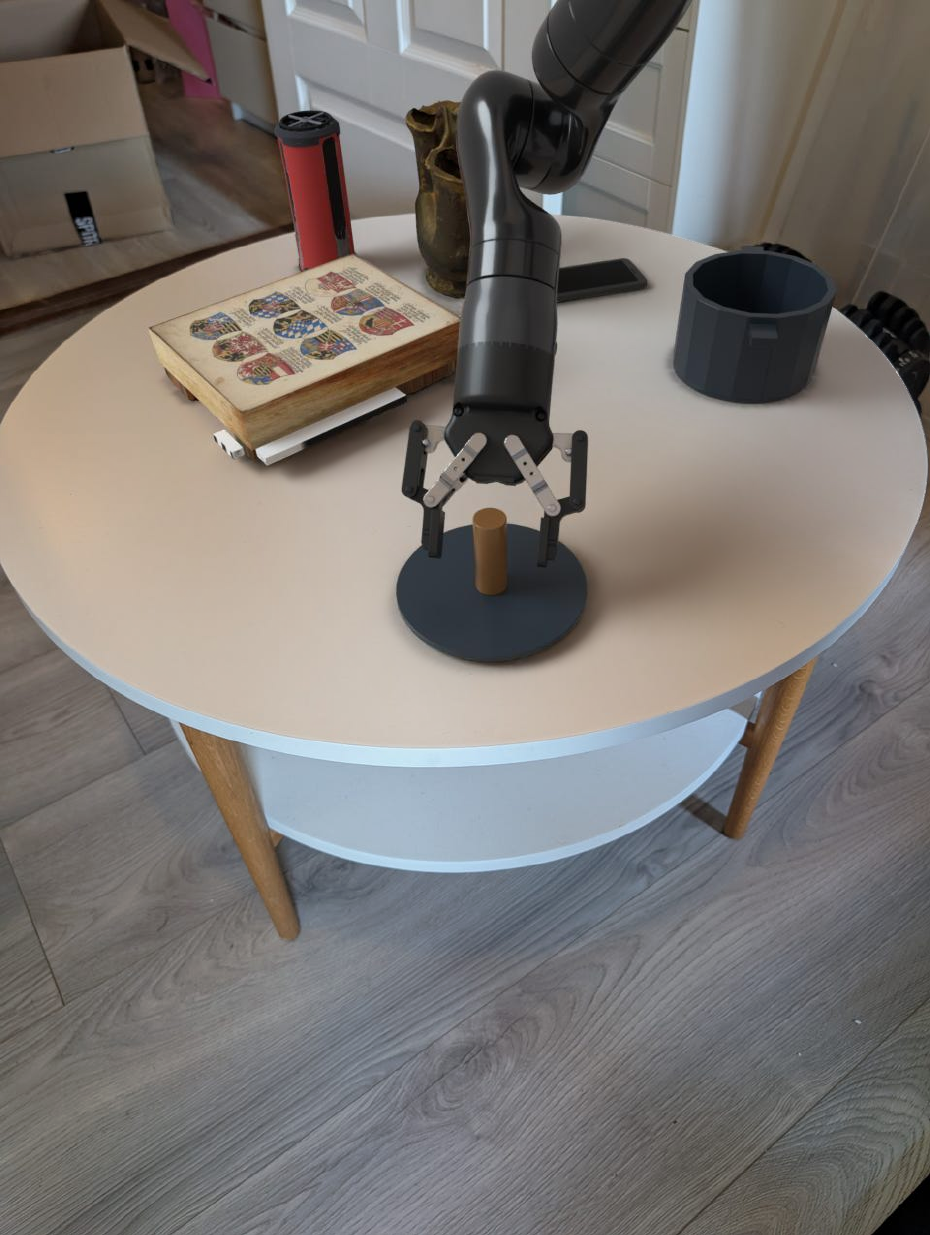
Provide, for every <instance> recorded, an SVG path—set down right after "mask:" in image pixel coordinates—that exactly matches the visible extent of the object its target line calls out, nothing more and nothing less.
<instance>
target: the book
mask: <svg viewBox="0 0 930 1235" xmlns="http://www.w3.org/2000/svg"><path fill="white" fill-rule="evenodd" d="M460 319H461V315H458V314H456V313H454V311H452V310H450V309H448V308H446V307H444V306H443V305H441V304H440V303H438V302H436V301H435V300H433V299H431V298H429V297H427V296H426V295H425V294H423V293H421V292H420V291H418V290H416V289H414V288H413V287H411V286H409V285H408V284H406V283H404V282H403V281H401V280H399V279H397V278H396V277H394V276H393V275H391V274H389V273H387V272H386V271H384V270H383V269H381V268H379V267H378V266H376V265H374V264H372V263H371V262H369V261H368V260H366V259H364V258H362V257H361V256H359V255H358V254H357V253H356V254H354V253H352V254H350V255H347V256H344V257H341V258H339V259H336V260H333V261H330V262H328V263H325V264H322V265H319V266H317V267H314V268H311V269H308V270H306V271H303V272H301V271H300V272H298V273H295V274H293V275H289V276H287V277H284V278H281V279H278V280H275V281H273V282H270V283H268V284H265V285H261V286H259V287H256V288H254V289H251V290H248V291H246V292H242V293H240V294H237V295H235V296H231V297H229V298H226V299H224V300H220V301H217V302H215V303H213V304H210V305H206V306H204V307H201V308H198V309H195V310H193V311H191V312H187V313H186V314H182V315H179V316H176V317H174V318H171V319H167V320H166V321H163V322H160V323H157V324H154V325H152V326H149V327H148V328H147V330H148V332H149V334H150V338H151V341H152V343H153V346H154V349H155V352H156V356H157V357H158V361H159V364H160V365H162V366H163V369H164V372H165V375H166V376H167V377H168V379H169V380H170V381H171V383H172V384H173V385H174V386H175V387H176V388H177V389H178V390H179V391H180V392H181V393H182V394H183V396H184V397H185V398H186V399H187V400H189V401H195V399H197V400H198V402H200V403H201V404H202V405H203V406H204V407H205V408H206V409H207V410H209V411H210V412H211V413H212V414H213V415H214V416H215V418H217V419H218V421H220V422H221V423H222V424H223V425H224V426H225V427H226V428H227V429H228V430H229V431H231V432H232V433H233V435H234V437H233V436H232V435H231V434H229V432H228V431H227V430H225V429H222V430H219V431H217V432H214V433H213V434H212V436H213V439H214V442H215V443H216V444H217V445H218V446H219V447H220V448H221V449H223V450H224V452H225V453H226V454H228V455H229V456H230V457H231V459H233V460H236V459H238V458H240V457H244V456H245V455H246V456H247V457H249V459H251V460H252V461H257V460H261V462H262V463H264V464H265V465H266V466H269V465H272V464H274V463H276V462H279V461H282V460H284V459H285V458H287V457H289V456H292V455H294V454H297V453H298V452H300V451H303V450H305V449H308V448H309V447H311V446H314V445H316V444H318V443H320V442H322V441H325V440H327V439H329V438H331V437H334V436H336V435H338V434H340V433H342V432H345V431H347V430H349V429H351V428H353V427H356V426H358V425H361V424H362V423H365V422H366V421H369V420H371V419H373V418H375V417H377V416H380V415H382V414H384V413H386V412H389V411H391V410H393V409H395V408H397V407H399V406H402V405H404V404H407V403H408V399H407V398H408V397H407V394H412V393H415V392H418V391H420V390H421V389H423V388H425V387H428V386H430V385H432V384H434V383H437V382H438V380H441V379H442V378H445V377H450V376H451V375H452V374H453V373H454V371H456V364H457V352H458V340H459V328H460Z"/></svg>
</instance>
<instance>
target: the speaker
mask: <svg viewBox="0 0 930 1235" xmlns="http://www.w3.org/2000/svg"><path fill="white" fill-rule="evenodd" d="M273 131H274V135H275V137H276V138H277V142H278V148H279V153H280V160H281V165H282V167H283V172H284V178H285V184H286V190H287V195H288V201H289V206H290V211H291V217H292V222H293V223H292V224H293V228H294V237H295V243H296V248H297V254H298V269H299V271H300V272H303V271H306V270H308V269H311V268H314V267H317V266H319V265H322V264H325V263H328V262H330V261H333V260H336V259H339V258H341V257H344V256H347V255H350V254H352V253H354V254H356V255H357V252H356V251H355V242H354V236H353V235H354V234H353V228H352V222H351V213H350V212H351V211H350V206H349V199H348V198H349V197H348V190H347V183H346V175H345V174H346V173H345V168H344V159H343V154H342V145H341V136H340V135H341V126H340V122H339V121H338V120H337V119H336V118H334V117H333V115H332V114H331V113H329V112H327V111H323V110H300V111H294V112H291V113H289V114H285V115H284V116H282V117H281V118H280V119H279V121H278V123H277V124H276V125H275V127H274V128H273Z"/></svg>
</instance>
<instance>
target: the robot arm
mask: <svg viewBox="0 0 930 1235" xmlns="http://www.w3.org/2000/svg"><path fill="white" fill-rule="evenodd" d="M692 2H693V0H556V1H555V3H554V4H553V5H552V7H551V9H550V11H549V12H548V13H547V15H546V16H545V17H544V19H543V21H542V23H541V24H540V26H539V28H538V30H537V32H536V34H535V36H534V39H533V42H532V46H531V65H532V69H533V73H534V75H535V78H536V80H537V82H536V81H533V80H530V79H527V78H525V77H523V76H520V75H519V74H515V73H512V72H509V71H506V70H501V69H500V70H499V69H493V70H488V71H485V72H483V73H481V74H480V75H478V76H477V77H475V79H474V80H473V81H472V82H471V83H470V85H469V86H468V87H467V89H466V90H465V92H464V94H463V96H462V99H461V101H460V102H461V104H460V107H459V110H458V116H457V123H456V148H457V155H458V163H459V168H460V173H461V178H462V183H463V188H464V194H465V200H466V208H467V215H468V221H469V229H470V249H469V261H468V273H467V285H466V292H465V293H464V294H465V295H464V300H463V304H462V307H461V308H462V309H461V313H460V317H461V319H460V328H459V340H458V352H457V364H456V369H455V376H454V387H453V400H452V411H451V416H450V419H449V421H448V423H447V424H446V426H441V425H434V424H433V425H432V424H425V423H424V422H423V421H422V420H419V419H415V420H413V421H411V423H410V424H409V428H408V435H407V443H406V451H405V458H404V465H403V466H404V467H403V468H404V469H403V474H402V481H401V493H402V496H404V497H406V498H407V499H408V500H411V501H412V502H413V501H414V502H415V503H417V504H420V506H422V509H423V516H422V528H421V529H422V530H421V541H420V543H421V545H422V547H423V549H425V550H428V556H429V557H430V558H439V559H440V558H441V555H442V545H443V533H444V532H445V519H446V511H444V510H443V508H444V506H445V505H446V504H447V503H448V502H449V501H450V500H451V499H452V497H453V496H454V495H455V494H456V493H457V492H458V491H459V490H460V489H462V488H463V486H464V485H465V484H466V483H467V482H468V480H471V481H472V482H474V483H475V484H477V485H478V484H480V485H489V484H494V483H498V484H501V485H503V486H506V487H507V486H510V487H516V486H517V485H520V484H522V483H524V482H526V483H527V485H528V487H529V488H530V490H531V491H532V493H533V495H534V497H535V498H536V499H537V501H538V503H539V504H540V506H541V508H542V509H543V517H542V516H541V517H540V521H539V522H540V524H539V531H540V533H539V545H538V556H537V567H544V568H547V563H548V560H553V561H554V559H555V557H556V555H557V549H558V541H559V537H560V526H561V522H562V520H563V518H565V517H566V516H570V515H573V514H580V513H582V512H584V511H585V509H586V505H587V482H588V458H589V457H588V455H589V435H588V433H587V432H586V431H585V430H583V429H577V430H576V431H574V432H573V433H570V432H566V433H565V432H553V430H552V428H551V426H550V418H551V417H550V416H551V408H552V407H551V406H552V394H553V393H552V392H553V382H554V374H555V373H554V371H555V360H556V355H557V351H558V342H557V339H558V338H557V336H558V325H559V324H558V323H559V322H558V321H559V320H558V302H557V290H558V279H559V268H561V266H560V265H561V255H562V243H563V242H562V241H563V240H562V239H563V238H562V235H563V234H562V229H561V225H560V224H559V222H558V220H557V219H556V218H555V217H554V216H553V215H552V214H551V213H550V212H548V211H546V210H545V209H544V208H543V207H541V206H539V205H538V204H536V203H535V202H533V201H532V200H531V199H530V198H529V197H527V196H526V194H525V193H524V192H523V191H522V190H521V188H522V189H525V190H528V191H530V192H531V191H532V192H535V193H537V194H541V195H546V196H547V195H548V196H551V195H553V196H554V195H558V194H562V193H564V192H566V191H568V190H569V189H571V188H573V187H574V186H576V185H577V184H578V183H579V182H580V181H581V179H582V178H583V177H584V175H585V174H586V171H587V170H588V167H589V165H590V164H591V161H592V158H593V156H594V153H595V151H596V148H597V146H598V143H599V141H600V139H601V137H602V135H603V132H604V130H605V128H606V126H607V124H608V122H609V119H610V117H611V115H612V114H613V111H614V109H615V108H616V105H617V103H618V102H619V100H620V98H621V96H622V95H623V94H624V92H625V91H627V89H628V87H629V86H630V85H631V84H632V83H633V82H634V81H635V79H637V77H638V76H639V75H640V74H641V72H642V71H643V70H644V69H645V68H646V67H647V65H648V64H649V63H651V61H652V59H653V58H654V57H655V55H656V54H658V52H659V51H660V50H661V48H662V47H663V46H664V45H665V43H666V42H667V41H668V40H669V38H670V37H671V36H672V35H673V33H674V31H675V30H676V29H677V27H678V26H679V24H680V23H681V21H682V19H683V18H684V16H685V15H686V13H687V12H688V10H689V8H690V6H691V4H692ZM443 441H444V442H445V443H446V446H447V447H448V450H450V452H451V454H452V455H453V457H454V458H453V459H452V460H451V461H450V462H449V463H448V465H447V466H446V467H445V469H443V470H442V472H441V473H440V474H439V478H438V479H437V480H436V481H435V482H434V484H433V485H432V486H431V487H430V488H429V489H427V488H426V487H424V486H425V481H426V480H425V479H426V471H427V465H428V464H427V463H428V455H429V454H433V453H435V451H436V450H437V448H438V445H439V444H440V443H441V442H443ZM553 448H556V449H558V450H559V452H560V455H561V458H562V460H563V461H564V462H566V463H570V475H569V496H566V497H562V498H559V499H557V498H556V497H557V496H555V494H554V492H553V491H552V489H551V488H550V486H549V484H548V483H547V481H546V479H545V478H544V476H543V474H542V473H541V471H540V469H539V468H538V467H539V465H540V464H541V463H542V462H543V461H544V460H545V458H546V457H547V456H548V455H549V454H550V453H551V451H552V450H553Z"/></svg>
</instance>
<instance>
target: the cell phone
mask: <svg viewBox="0 0 930 1235" xmlns="http://www.w3.org/2000/svg"><path fill="white" fill-rule="evenodd" d="M647 286H648V279H647V277H646V276H645V275H644V274H643V272H641V271H640V269H639V268H638V267H637V266H636V265H635V264H634V263H633V261H631V259H629V258H627V257H621V258H614V259H608V260H607V259H606V260H602V261H595V262H589V263H581V264H575V265H567V266H563V267H560V268H559V279H558V290H557V303H559V302H566V301H571V300H578V299H579V300H580V299H585V298H591V297H598V296H603V295H610V294H616V293H622V292H628V291H634V290H639V289H645V288H647Z"/></svg>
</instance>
